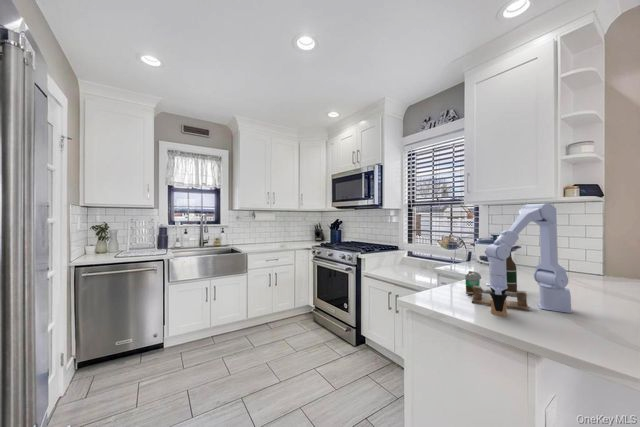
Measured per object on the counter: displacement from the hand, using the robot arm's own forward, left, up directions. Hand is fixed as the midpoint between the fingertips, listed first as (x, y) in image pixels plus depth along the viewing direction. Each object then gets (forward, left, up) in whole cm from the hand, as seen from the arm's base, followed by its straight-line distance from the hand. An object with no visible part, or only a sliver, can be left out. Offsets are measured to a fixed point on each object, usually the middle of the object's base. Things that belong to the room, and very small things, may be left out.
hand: (498, 308), depth 103 cm
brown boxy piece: (0, -12, -2) cm, 12 cm away
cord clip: (0, 0, -2) cm, 2 cm away
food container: (+10, -24, -2) cm, 26 cm away
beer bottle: (-4, -38, -2) cm, 38 cm away
